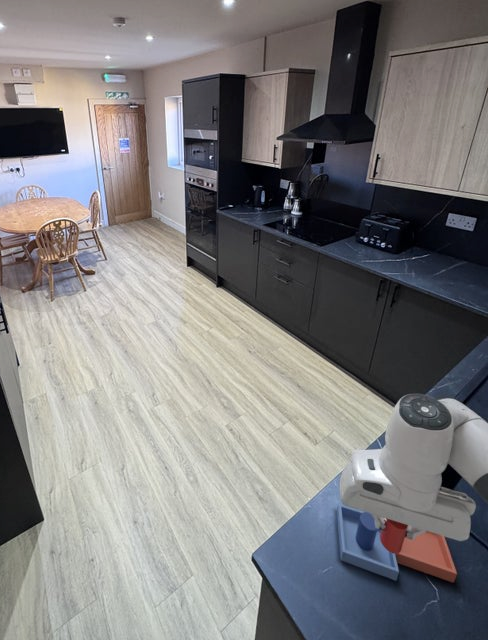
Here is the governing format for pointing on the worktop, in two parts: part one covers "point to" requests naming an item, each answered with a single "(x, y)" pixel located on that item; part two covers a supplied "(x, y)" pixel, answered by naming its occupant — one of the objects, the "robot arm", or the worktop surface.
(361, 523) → the blue peg
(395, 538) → the red peg
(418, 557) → the red bin
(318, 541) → the worktop surface
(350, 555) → the blue bin
